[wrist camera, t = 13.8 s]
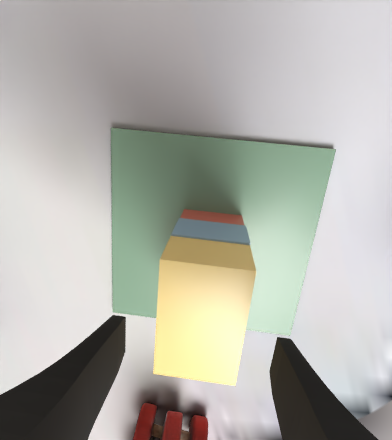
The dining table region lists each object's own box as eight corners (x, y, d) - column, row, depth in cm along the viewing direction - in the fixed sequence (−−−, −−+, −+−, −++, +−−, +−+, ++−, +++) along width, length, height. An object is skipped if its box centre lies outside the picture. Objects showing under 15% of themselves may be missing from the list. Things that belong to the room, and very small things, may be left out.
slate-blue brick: (246, 225, 18) (250, 243, 15) (231, 313, 20) (233, 343, 18) (178, 217, 18) (171, 234, 16) (172, 305, 21) (164, 333, 18)
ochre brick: (249, 245, 15) (256, 271, 13) (233, 344, 18) (235, 385, 15) (170, 235, 16) (159, 259, 13) (164, 335, 18) (153, 373, 15)
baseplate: (333, 149, 19) (335, 149, 19) (289, 332, 25) (290, 335, 24) (112, 127, 20) (110, 127, 20) (114, 309, 25) (112, 312, 25)
